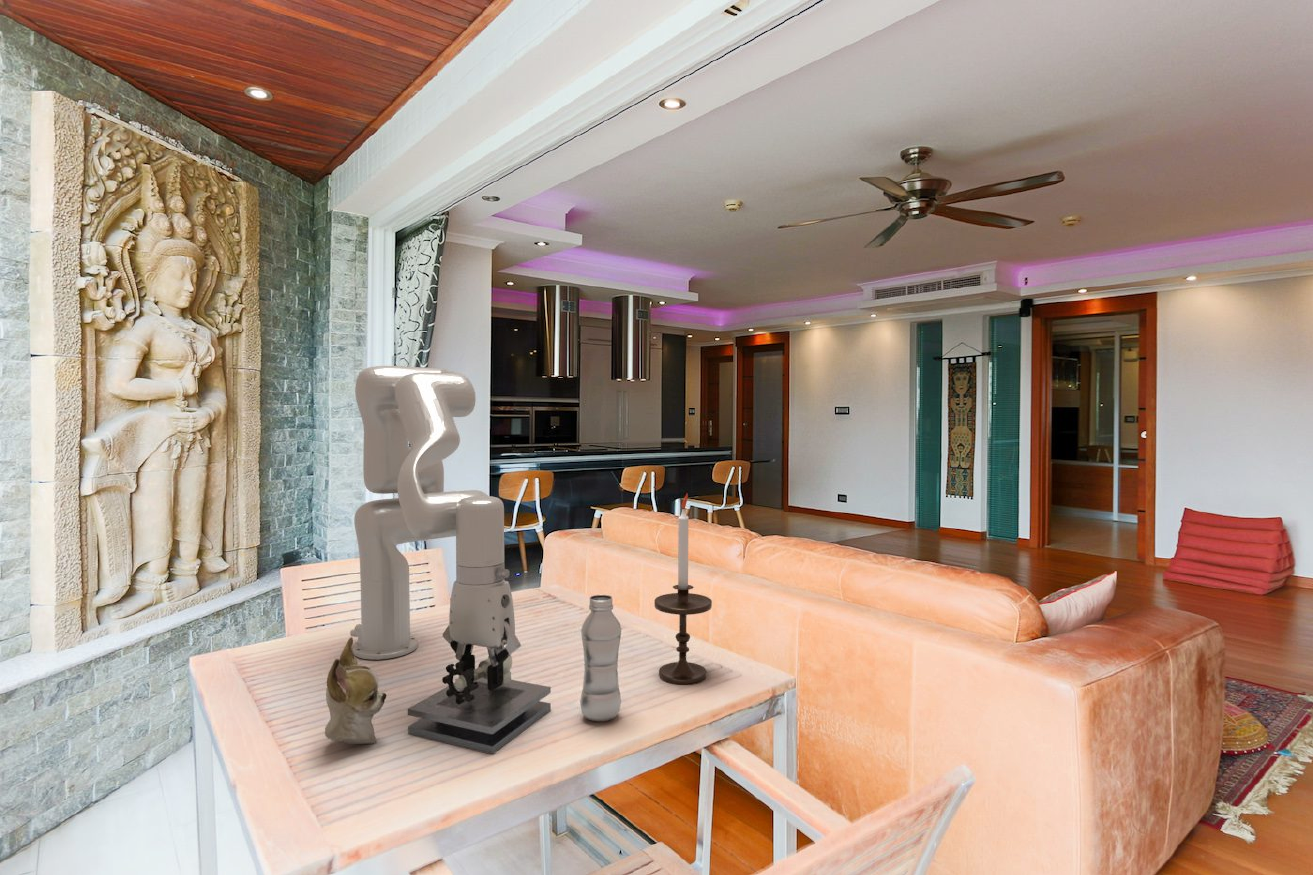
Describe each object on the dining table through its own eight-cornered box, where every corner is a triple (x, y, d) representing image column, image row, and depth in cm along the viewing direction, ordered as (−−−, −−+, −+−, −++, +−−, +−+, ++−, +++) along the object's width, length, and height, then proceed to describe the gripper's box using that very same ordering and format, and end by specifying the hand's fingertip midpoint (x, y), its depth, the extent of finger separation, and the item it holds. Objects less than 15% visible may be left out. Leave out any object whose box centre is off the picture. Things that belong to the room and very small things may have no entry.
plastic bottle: (580, 709, 116) (580, 592, 115) (620, 708, 117) (620, 591, 116) (579, 727, 110) (579, 603, 109) (622, 725, 110) (622, 602, 110)
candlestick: (719, 670, 134) (720, 491, 132) (698, 691, 124) (700, 497, 122) (668, 661, 138) (668, 488, 137) (644, 680, 129) (645, 494, 127)
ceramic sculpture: (380, 759, 100) (379, 657, 99) (316, 765, 98) (314, 661, 97) (392, 725, 110) (391, 633, 110) (334, 730, 109) (332, 637, 108)
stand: (408, 733, 108) (407, 708, 107) (473, 694, 122) (473, 672, 122) (492, 754, 101) (492, 727, 101) (550, 710, 116) (550, 687, 116)
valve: (492, 673, 119) (442, 700, 109) (492, 636, 119) (441, 659, 108) (523, 681, 116) (474, 708, 106) (523, 642, 116) (474, 666, 105)
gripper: (538, 573, 111) (538, 684, 112) (453, 563, 118) (454, 668, 118) (510, 584, 104) (511, 703, 105) (422, 573, 111) (423, 684, 112)
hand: (481, 683), depth 112 cm, fingers closed on valve, 4 cm apart
